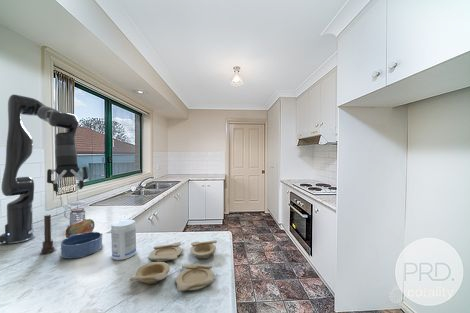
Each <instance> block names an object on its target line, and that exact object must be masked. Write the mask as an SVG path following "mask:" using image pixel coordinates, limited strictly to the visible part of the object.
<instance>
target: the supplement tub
mask: <svg viewBox="0 0 470 313" xmlns="http://www.w3.org/2000/svg"><path fill="white" fill-rule="evenodd" d="M110 226H111V228H110V237H111V258H112V259H113V260H115V261H120V260H126V259H129V258H131V257H133V256H134V255H136V253H137V227H136V221H135V220H134V219H130V218H129V219H121V220H116V221H114V222H113V223H112V224H110Z"/></svg>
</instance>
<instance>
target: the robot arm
mask: <svg viewBox="0 0 470 313" xmlns="http://www.w3.org/2000/svg"><path fill="white" fill-rule="evenodd" d="M21 115H24V116H36V117H38V119H40V120H42V121H44V122H46V123H48V124H49V126H51V127H54V128H60V129H65V132H57V133H56V134H55V136H54V142H55V153H54V154H55V162H56V163H55V165H56V167H55V169H53V168H52V169H50V168H48V169H47V171H46V183H47V184H52V187H53V189H52V190H53V192H55V193H59V184H58V183H59V181H60V180H61V179H62V178H63V179H65V178H75V179H77V180H78V186H79V188H78V190H82V189H83V188H84V186H85V185H84V181H85V180H88V179H89V176H88V170H87V167H86V166H82V167H79V166H78V164H79V163H78V152H77V151H78V150H77V147H76V134H77V130H78V127H79V119H78V117H77V116H76V115H75V114H72V113H66V112H61V111H60V110H58V109H57V108H53V107H50V106H47V105H46V104H44V103H43V102H41V101H39V100H38V99H36V98H33V97H28V96H25V95H20V94H11V95H10V96H9V98H8V100H7V120H8V121H7V122H8V123H7V124H8V125H7V126H8V127H7V137H6V145H5V146H6V147H5V163H4V170H3V175H2V180H1V189H0V190H1V193H2V195H4V196H5V197H12V196H13V197H15V196H18V197H17V198H16V199H14V200H12V201H10V202H8V203H7V204H6V224H5V225H4V233H2V234H1V235H0V244H3V243H4V244H5V245H7V244H11V245H12V244H18V243H19V244H20V243H24V242H27V241H29V240H32V239H33V238H34V232H35V229H34V221H33V220H34V219H33V217H34V215H33V212H34V211H33V203H34V200H35V199H34V198H35V182H34V181H35V180H34V179H33V177H31V176H18V172H19V170H20V168H21V167H22V166H23V165H24V163H25V162H27V160H28V159H29V158H30V157H31V155H32V154H33V148H34V140H33V138H32V136H31V135H30V133H29V132H28V131H27V129H26V128H25V126H24V125H23V122H22V117H21ZM79 171H80V172H81V173H82V176H83V177H82V176H81V175H80V174H79ZM54 173H56V174H57V176H56V177H55V179H54V180H52V175H54Z"/></svg>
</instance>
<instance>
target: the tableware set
mask: <svg viewBox="0 0 470 313" xmlns="http://www.w3.org/2000/svg"><path fill="white" fill-rule="evenodd" d="M217 242H218V241H217V240H216V239H215V240H207V241H192V242H191V243H190V245H191V247H190V248H189V252H190V254H191V255H193V256H195V257H196V258H197V259H207V258H210V256H211V255H212V254H213V253H215V252H216V250H217V246H216V245H215V244H217ZM181 245H182V244H181V241H177V242H173V243H171V244H164V245H162V244H161V245H155V246H153V250H151V252H150V253H149V257H148V260H149V261H153V262H150V263H146V264H145V265H142V266H141V267H139V268H138V269H137V270H136V272H135V275H134V276H130V277H129V281H130V282H133V281H134V282H135V281H139V282H142V283H144V284H147V285H153V284H156V283H158V282H160V281H161V280H164V279H166V278H168V274H169V272H170V270H171V269H170V264H168V262H169V261H177V260H178V257H179V256H180V255H181V254H182V251H183V250H182V248H181V247H180V246H181ZM166 262H167V263H166ZM181 268H182V269H183V270H181V271H180V272H179V273H178V274H177V276H176V277H175V283H176V290H177V292H185V291H196V290H201V289H203V288H205V287H207V286H208V285H212V284H214V283H215V281H214V277H215V276H214V272H213V270H212V268H213V265H211V264H210V265H209V264H196V263H182V265H181Z"/></svg>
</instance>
